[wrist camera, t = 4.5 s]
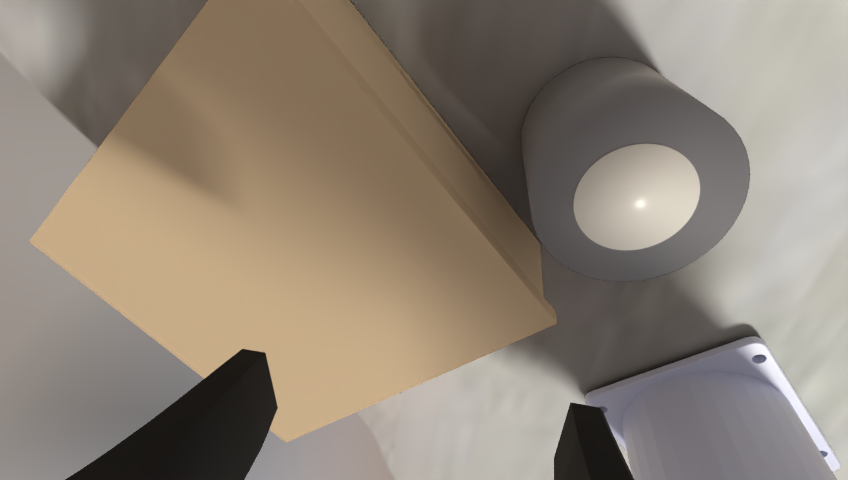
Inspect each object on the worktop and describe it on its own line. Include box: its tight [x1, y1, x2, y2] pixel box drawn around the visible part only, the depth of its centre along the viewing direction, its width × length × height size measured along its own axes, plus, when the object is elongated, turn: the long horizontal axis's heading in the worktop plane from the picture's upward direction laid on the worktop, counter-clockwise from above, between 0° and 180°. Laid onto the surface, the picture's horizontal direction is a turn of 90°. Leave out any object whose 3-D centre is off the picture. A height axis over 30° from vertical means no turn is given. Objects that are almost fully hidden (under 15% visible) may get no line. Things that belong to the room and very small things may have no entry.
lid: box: [30, 0, 557, 442], centre depth 16 cm, size 13×14×1 cm
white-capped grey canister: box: [521, 57, 750, 282], centre depth 14 cm, size 5×5×5 cm
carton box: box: [299, 0, 544, 296], centre depth 18 cm, size 13×14×4 cm
